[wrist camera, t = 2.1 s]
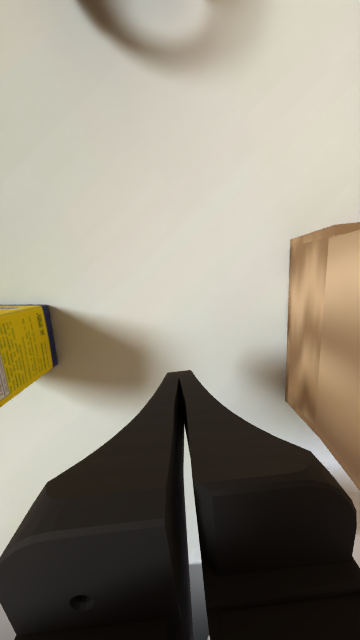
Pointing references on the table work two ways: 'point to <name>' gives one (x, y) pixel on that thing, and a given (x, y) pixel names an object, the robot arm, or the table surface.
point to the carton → (307, 317)
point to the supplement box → (24, 347)
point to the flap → (341, 356)
